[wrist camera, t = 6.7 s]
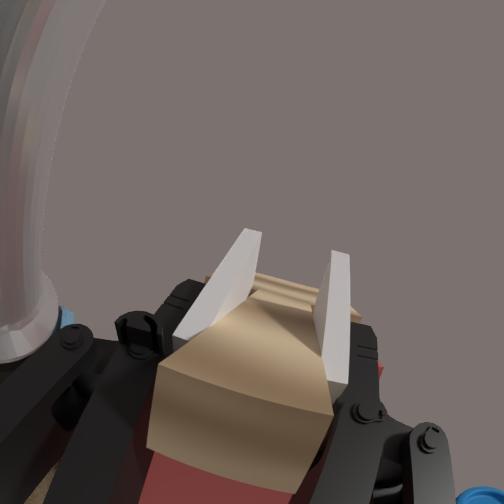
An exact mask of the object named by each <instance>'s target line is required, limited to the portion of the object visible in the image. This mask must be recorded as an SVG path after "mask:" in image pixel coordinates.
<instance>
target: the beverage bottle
mask: <svg viewBox="0 0 504 504" xmlns="http://www.w3.org/2000/svg"><path fill="white" fill-rule="evenodd" d="M455 500H456V504H504V492H503V491H501V490H498V489H495V488H491V487H474V488H471V489H468V490H466V491H464V492H463V493H462V494H460V495H459V496H458V497H457V498H456V499H455Z"/></svg>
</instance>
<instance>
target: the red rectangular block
mask: <svg viewBox="0 0 504 504" xmlns="http://www.w3.org/2000/svg"><path fill="white" fill-rule="evenodd" d="M377 361H378V370H379V379H380V376H381V374H382V371H383V368H384V367H383V366H382V365H381V363H380V362H379V360H377ZM291 497H292V493H286V492H281V491H276V490H272V489H267V488H263V487H258V486H254V485H250V484H247V483H243V482H239V481H236V480H232V479H229V478H225V477H222V476H219V475H216V474H213V473H210V472H207V471H204V470H201V469H198V468H195V467H193V466H190V465H187V464H185V463H182V462H179V461H177V460H174V459H172V458H169V457H167V456H165V455H162V454H160V453H158V452H155V451H154V455H153V458H152V461H151V464H150V467H149V470H148V474H147V477H146V480H145V483H144V487H143V490H142V493H141V496H140V500H139V503H138V504H288V503H289V501H290V499H291Z"/></svg>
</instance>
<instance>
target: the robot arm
mask: <svg viewBox="0 0 504 504" xmlns="http://www.w3.org/2000/svg"><path fill="white" fill-rule="evenodd" d="M105 1H106V0H0V504H23V503H24V502H25V501H26V500H27V498H28V497H29V496H30V494H31V493H32V492H33V491H34V489H35V488H36V487H37V486H38V484H39V483H40V482H41V481H42V479H43V478H44V477H45V476H46V474H47V473H48V472H49V471H50V469H51V468H52V467H53V466H54V465H55V463H56V462H57V461H58V460H59V458H60V457H61V456H62V455H63V456H62V459H61V461H60V463H59V465H58V468H57V470H56V472H55V475H54V477H53V480H52V482H51V484H50V487H49V489H48V492H47V494H46V497H45V499H44V502H43V504H138V503H139V500H140V496H141V493H142V490H143V487H144V483H145V480H146V477H147V474H148V470H149V467H150V464H151V461H152V458H153V455H154V451H153V450H151V449H149V448H147V447H146V445H147V437H148V429H149V421H150V414H151V407H152V400H153V393H154V387H155V380H156V374H157V368H158V364H159V363H160V362H162V361H163V360H164V359H166V358H167V357H169V356H170V355H171V354H173V353H174V352H175V351H177V350H178V349H180V348H181V347H182V346H184V345H185V344H186V343H188V342H189V341H191V340H192V339H193V338H195V337H196V336H197V335H199V334H200V333H201V332H203V331H204V330H205V329H207V328H208V327H210V326H212V325H213V324H214V323H216V322H217V321H218V320H220V319H221V318H222V317H224V316H225V315H226V314H228V313H229V312H230V311H232V310H233V309H234V308H236V307H237V306H238V305H240V304H241V303H242V302H243V301H245V300H246V299H247V297H248V295H249V292H250V290H251V288H252V286H253V283H254V277H255V270H256V265H257V259H258V254H259V247H260V242H261V236H262V232H258V231H254V230H250V229H246V228H245V229H244V230H243V231H242V233H241V234H240V236H239V237H238V239H237V240H236V242H235V243H234V244H233V246H232V247H231V249H230V250H229V252H228V253H227V255H226V256H225V258H224V259H223V261H222V262H221V264H220V265H219V266H218V268H217V269H216V271H215V272H214V274H213V275H212V277H211V278H210V280H209V281H208V283H207V284H204V283H201V282H197V281H194V280H191V279H188V280H186V281H184V282H182V283H180V284H179V285H177V286H176V287H175V289H174V290H173V291H172V292H171V294H170V296H168V297H167V299H166V300H165V301H164V304H162V305H161V306H160V308H159V309H158V310H157V311H156V313H155V314H154V315H153V314H151V313H148V312H144V311H133V312H128V313H126V314H124V315H122V316H120V317H119V318H118V319H117V320H116V321H115V322H114V323H115V326H116V331H117V335H118V339H119V341H111V340H104V339H97V338H94V337H93V334H92V331H91V330H90V329H89V328H88V327H87V326H84V325H82V324H75V316H74V314H73V313H72V312H71V311H69V310H67V309H65V308H64V307H62V306H58V298H57V294H56V290H55V288H54V286H53V284H52V283H51V281H50V279H49V278H48V277H47V276H46V274H45V273H43V272H42V271H41V260H42V259H41V258H42V238H43V237H42V236H43V223H44V213H45V203H46V195H47V188H48V181H49V174H50V169H51V163H52V157H53V152H54V147H55V142H56V138H57V134H58V129H59V125H60V121H61V117H62V114H63V110H64V106H65V103H66V99H67V96H68V93H69V90H70V86H71V83H72V80H73V77H74V74H75V71H76V69H77V66H78V63H79V60H80V58H81V55H82V52H83V50H84V47H85V45H86V43H87V40H88V38H89V35H90V33H91V30H92V29H93V26H94V24H95V22H96V20H97V18H98V16H99V13H100V11H101V9H102V7H103V5H104V3H105ZM313 319H314V324H315V329H316V334H317V339H318V344H319V349H320V354H321V358H323V363H324V368H325V373H326V378H327V383H328V388H329V393H330V398H331V403H332V408H333V414H334V417H333V419H332V421H331V423H330V426H329V428H328V430H327V432H326V435H325V437H324V439H323V441H322V443H321V445H320V447H319V449H318V452H317V454H316V456H315V458H314V460H313V462H312V464H311V466H310V468H309V469H308V471H307V473H306V475H305V477H304V479H303V481H302V483H301V485H300V486H299V488H298V490H297V492H296V494H292V497H291V499H290V501H289V503H288V504H456V500H455V489H454V481H453V472H452V465H451V458H450V452H449V445H448V440H447V437H446V435H445V433H444V432H443V430H442V429H441V428H440V427H439V426H437V425H435V424H434V423H429V422H424V423H420V424H418V425H417V426H416V427H415V428H412V427H410V426H407V425H405V424H403V423H401V422H398V421H396V420H395V419H393V418H391V417H390V416H389V415H388V414H387V411H386V409H385V407H384V405H383V403H381V402H380V399H379V370H378V361H377V360H378V352H377V337H376V336H375V334H374V332H373V330H372V328H371V326H367V325H363V324H359V323H355V322H350V263H349V254H345V253H341V252H337V251H334V250H332V252H331V255H330V259H329V261H328V264H327V267H326V271H325V274H324V277H323V280H322V283H321V286H320V289H319V292H318V295H317V298H316V302H315V308H314V315H313ZM63 453H64V454H63Z"/></svg>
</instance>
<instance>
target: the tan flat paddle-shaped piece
mask: <svg viewBox="0 0 504 504" xmlns="http://www.w3.org/2000/svg"><path fill="white" fill-rule="evenodd" d="M211 277H212V275H208V276H206V279H205V283H204V284H207V283H208V281H209V280H210V278H211ZM318 292H319V289H317V288H313V287H309V286H305V285H301V284H298V283H294V282H290V281H286V280H282V279H279V278H275V277H271V276H267V275H263V274H260V273H256V272H255V277H254V283H253V286H252V288H251V290H250V292H249V295H248V297H247V299H246V300H245V301H243V302H242V303H241V304H240V305H238V306H237V307H236V308H234V309H233V310H232V311H230V312H229V313H228V314H226V315H225V316H224V317H222V318H221V319H220V320H218V321H217V322H216V323H214V324H213V325H212V326H210V327H208V328H207V329H205V330H204V331H203V332H201V333H200V334H199V335H197V336H196V337H195V338H193V339H192V340H191V341H189V342H188V343H186V344H185V345H184V346H182V347H181V348H180V349H178V350H177V351H175V352H174V353H173V354H171V355H170V356H169V357H167V358H166V359H164V360H163V361H162V362H160V363H159V364H158V368H157V374H156V380H155V387H154V393H153V400H152V407H151V414H150V421H149V429H148V437H147V445H146V447H147V448H149V449H151V450H153V451H155V452H158V453H160V454H162V455H165V456H167V457H169V458H172V459H174V460H177V461H179V462H182V463H185V464H187V465H190V466H193V467H195V468H198V469H201V470H204V471H207V472H210V473H213V474H216V475H219V476H222V477H225V478H229V479H232V480H236V481H239V482H243V483H247V484H250V485H254V486H258V487H263V488H267V489H272V490H276V491H281V492H286V493H292V494H296V492H297V490H298V488H299V486H300V485H301V483H302V481H303V479H304V477H305V475H306V473H307V471H308V469H309V468H310V466H311V464H312V462H313V460H314V458H315V456H316V454H317V452H318V449H319V447H320V445H321V443H322V441H323V439H324V437H325V435H326V432H327V430H328V428H329V426H330V423H331V421H332V419H333V417H334V414H333V408H332V403H331V398H330V393H329V388H328V383H327V378H326V373H325V368H324V363H323V358H321V354H320V349H319V344H318V339H317V334H316V329H315V324H314V319H313V315H314V308H315V302H316V298H317V295H318ZM361 319H362V317H361V316H360V315H359V314H358V313H357V312H356V311H355V310H354V309H353V308H352V307H351V306H350V322H355V323H359V324H360V322H361Z"/></svg>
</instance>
